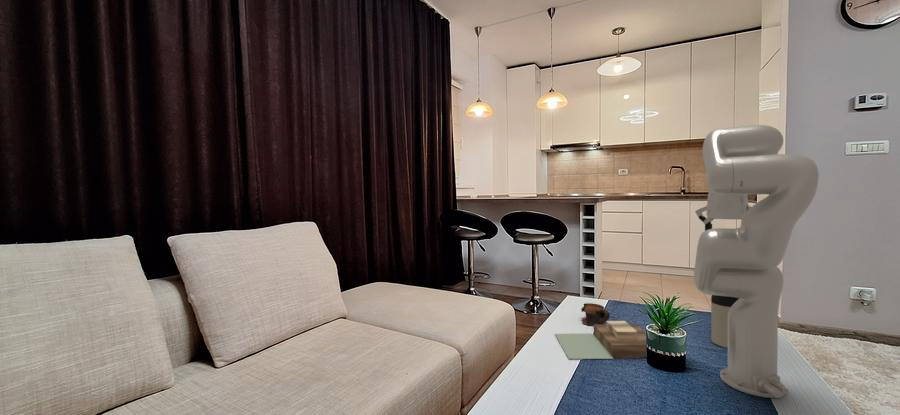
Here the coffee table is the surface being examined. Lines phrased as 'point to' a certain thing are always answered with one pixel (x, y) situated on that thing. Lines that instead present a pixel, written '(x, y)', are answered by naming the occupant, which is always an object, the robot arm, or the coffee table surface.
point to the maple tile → (621, 330)
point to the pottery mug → (594, 314)
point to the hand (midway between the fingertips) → (727, 236)
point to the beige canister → (720, 319)
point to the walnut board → (621, 342)
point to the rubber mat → (582, 346)
